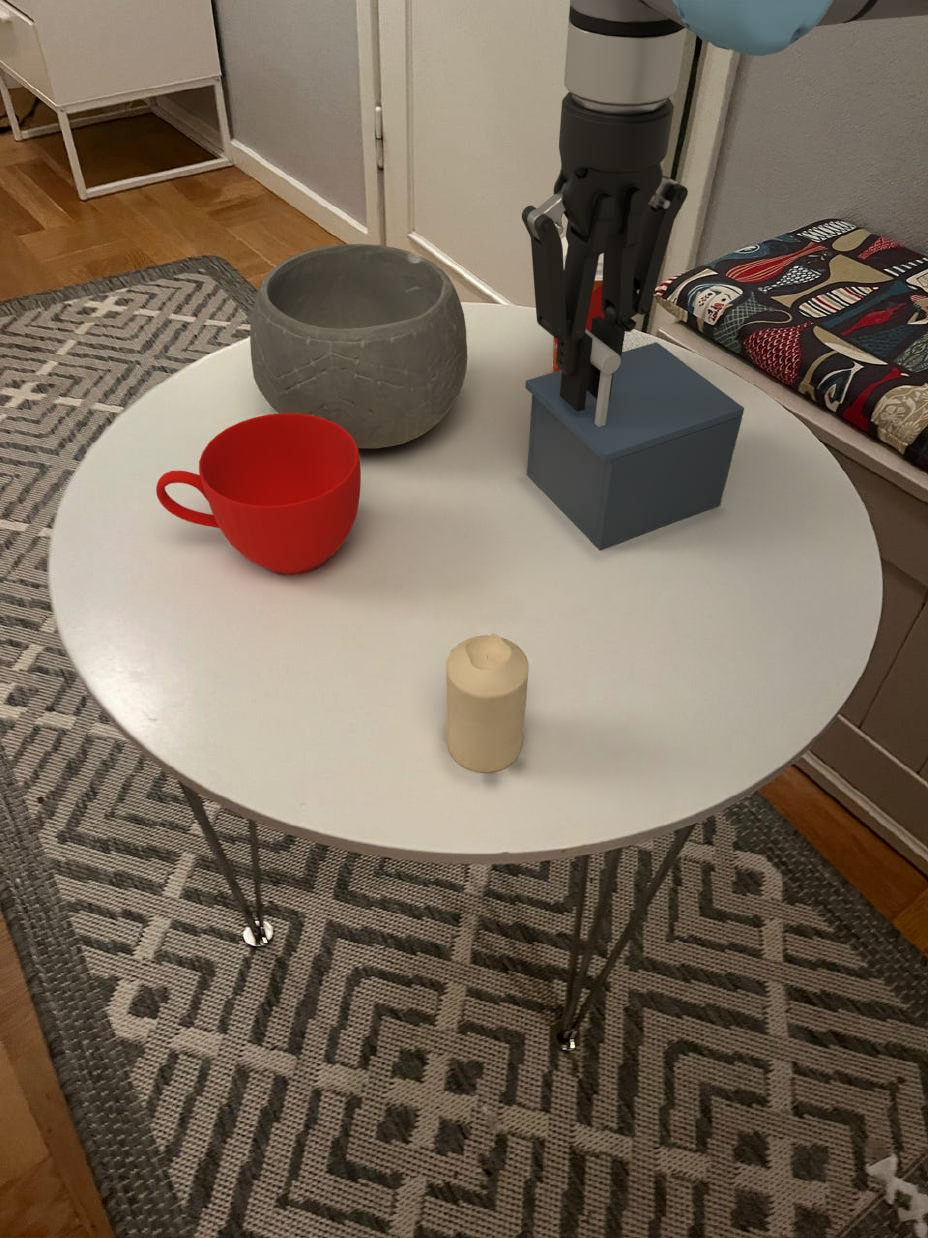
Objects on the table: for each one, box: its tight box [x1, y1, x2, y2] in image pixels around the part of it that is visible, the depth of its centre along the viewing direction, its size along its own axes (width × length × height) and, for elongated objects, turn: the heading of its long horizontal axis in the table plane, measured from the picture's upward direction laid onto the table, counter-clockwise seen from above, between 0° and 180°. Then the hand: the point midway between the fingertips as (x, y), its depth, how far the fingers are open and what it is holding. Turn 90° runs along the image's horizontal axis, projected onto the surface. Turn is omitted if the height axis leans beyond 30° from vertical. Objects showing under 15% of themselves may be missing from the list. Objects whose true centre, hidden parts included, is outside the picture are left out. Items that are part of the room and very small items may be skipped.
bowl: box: [249, 243, 468, 449], centre depth 93 cm, size 21×21×15 cm
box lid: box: [524, 329, 745, 462], centre depth 81 cm, size 14×13×8 cm
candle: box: [445, 634, 530, 773], centre depth 66 cm, size 6×6×10 cm
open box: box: [526, 394, 743, 551], centre depth 87 cm, size 14×13×10 cm
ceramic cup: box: [155, 413, 362, 576], centre depth 81 cm, size 13×17×10 cm
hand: (584, 398), depth 81 cm, fingers closed on box lid, 2 cm apart
